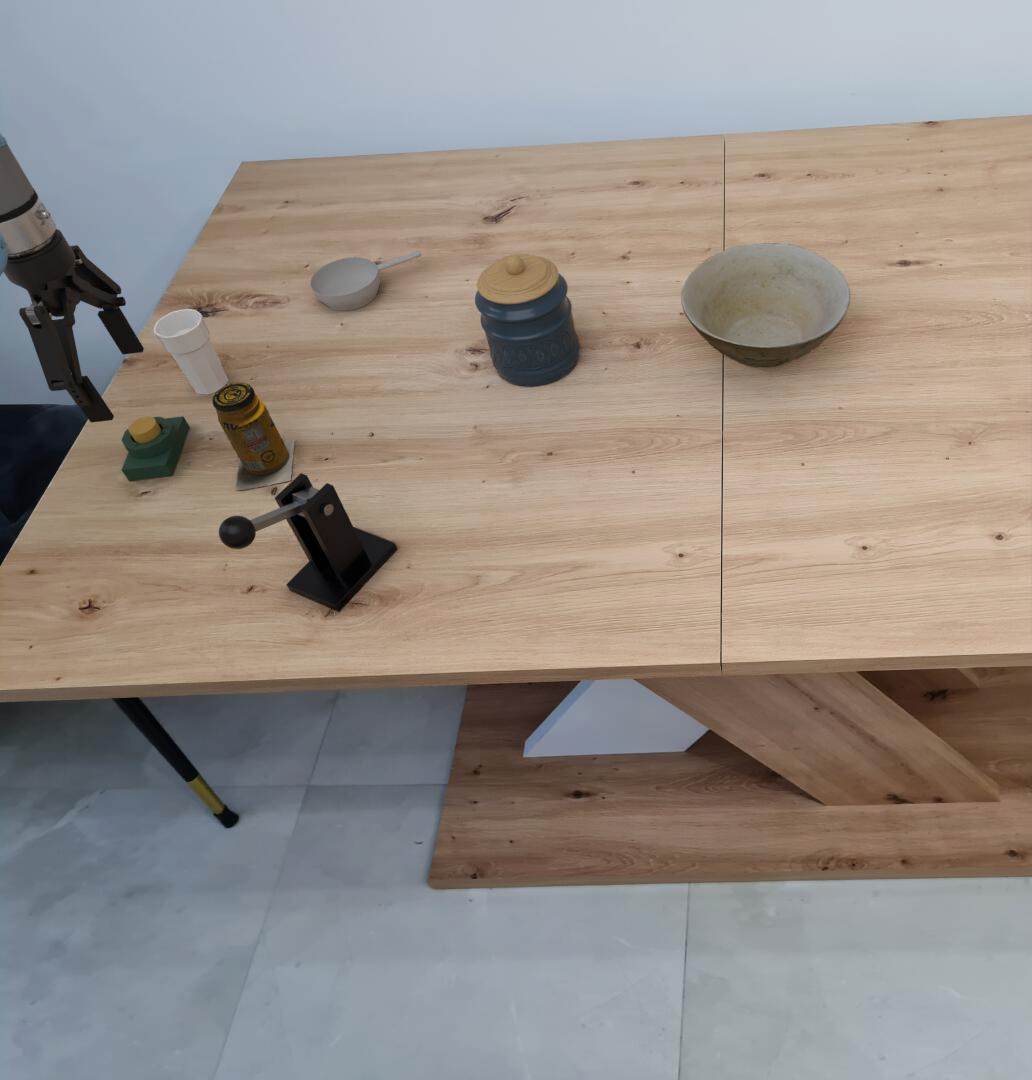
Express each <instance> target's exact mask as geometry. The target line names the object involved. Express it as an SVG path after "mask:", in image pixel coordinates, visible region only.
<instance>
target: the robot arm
mask: <svg viewBox="0 0 1032 1080" xmlns="http://www.w3.org/2000/svg"><path fill="white" fill-rule="evenodd" d="M3 274H4V275H5V276H6V278H7V279H8V281H9V282H10V283H11V284H13V285H15V286H18V287H21V288H22V289H24V290H26V291H27V293H28V295H29V299H30V301H31V303H30V305H29V306H28V307H19V309H18V313H19V316H20V318H21V320H22V321H23V323H24V325H25V326H26V328H27V329H28V332H29V335H30V338H31V341H32V344H33V347H34V349H35V352H36V356H37V358H38V362H39V364H40V367H41V370H42V373H43V375H44V378H45V382H46V385H47V387H48V389H49V391H50V392H57V391H66V392H67V393H68V394H69V396H70V397H71V399H72V400H73V401H74V403H75V404H76V405H77V407H79V408H80V410H81V411H82V412H83V414H84V415H85V417H86V418H87V419H88V421H89V422H90V423H101V422H107V421H113V420H114V418H115V415H114V413H113V412H112V410H111V409H110V407H109V406H108V404H107V403H106V401H105V400H104V399H103V397H102V396H101V394H100V393H99V391H98V390H97V388H96V387H95V385H94V383H93V382H92V381H91V379H90V377H88V375H82V370H81V365H80V360H79V355H78V349H77V345H76V340H75V339H76V338H75V335H74V334H75V333H74V330H73V327H74V326H75V324H76V318H75V312H76V308H77V306H78V305H79V304H80V303H81V302H83V303H85V304H86V305H90V306H91V307H95V308H97V309H102V310H99V311H98V312H97V317H98V318H99V319H100V322H101V323H102V325H103V326H104V327H105V329H106V331H107V332H108V334H109V335H110V337H111V339H112V341H113V342H114V343H115V345H116V346H117V348H118V350H119V351H120V354H121V355H131V354H139V353H143V352H144V350H145V347H144V346H143V344H142V342H141V341H140V339H139V337H138V336H137V334H136V332H135V331H134V330H133V327H132V326H131V324H130V322H129V321H128V319H127V317H126V316H125V314H124V313H123V311H122V308H121V307H125V306H126V304H127V302H126V299H125V297H124V296H119V295H121V294H122V288H121V286H120V285H119V284H118V283H117V282H116V281H115V280H113V279H112V278H111V277H110V276H109V275H108V274H107V273H105V272H104V271H103V270H102V269H101V268H99V267H98V265H96V264H95V263H94V262H93V261H92V260H90V259H89V258H88V257H87V256H86V254H85V253H84V251H83V250H82V249H81V247H80V246H79V245H78V244H77V245H70V243H68V241H67V239H66V237H65V235H64V234H63V232H62V231H61V230H60V229H58V228H57V224H56V222H55V220H54V219H53V217H52V214H51V212H50V210H48V209H47V208H46V206H45V204H44V203H43V201H42V199H41V198H40V197H39V195H38V193H37V192H36V189H35V188H34V187H33V185H32V183H31V182H30V180H29V179H28V176H27V175H26V173H25V171H24V169H23V168H22V167H21V165H20V163H19V160H18V159H17V157H16V156H15V155H14V153H13V151H12V149H11V148H10V146H9V143H8V141H7V139H6V138H5V136H3V134H2V133H1V132H0V277H1V276H2V275H3ZM53 317H55V318H56V319H52V318H53ZM60 317H61V318H60ZM62 317H63V318H62Z"/></svg>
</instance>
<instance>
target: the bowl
mask: <svg viewBox="0 0 1032 1080" xmlns="http://www.w3.org/2000/svg"><path fill="white" fill-rule="evenodd" d="M680 301H681V307H682V310H683V313H684V315H685V316H686V318H687V320H688V321H689V323H690V324H691V326H692V328H693V329H695V331H696V332H697V333H698V334H699V335H700V336H701V337H702V338H703V339H704V340H705V341H706V342H707V343H708V345H710V346H712V348H713V349H715V350H717V351H718V352H719V353H721V354H722V355H724V356H725V357H727V358H728V359H730V360H732V361H734V362H736V363H738V364H742V365H745V366H747V367H751V368H759V369H761V368H763V369H764V368H775V367H776V368H777V367H780V366H784V365H787V364H789V363H791V362H793V361H795V360H798V359H800V358H803V357H804V356H805V355H807V354H809V353H811V352H812V351H813V350H815V349H817V348H818V347H819V346H820V345H822V344H823V343H824V342H825V341H826V340H827V339H828V338H829V337H830V336H831V335H832V334H833V333H834V331H835V330H836V329H837V328H838V327H839V326H840V324H841V323H842V321H844V318H845V317H846V315H847V313H848V311H849V308H850V304H851V289H850V286H849V283H848V281H847V279H846V277H845V276H844V274H843V273H842V272H841V270H840V269H839V268H838V267H836V265H834V264H833V263H831V261H829V260H828V259H827V258H825V257H823V256H822V255H820V254H818V253H816V252H815V251H812V250H810V249H808V248H805V247H803V246H800V245H796V244H791V243H781V242H774V243H770V242H766V243H765V242H764V243H763V242H762V243H753V244H745V245H739V246H734V247H731V248H727V249H725V250H722V251H721V252H718V253H716V254H714V255H712V256H710V257H708V258H707V259H705V260H703V261H702V262H701V263H700V264H698V266H696V267H695V268H694V269H693V270H692V271H691V272H690V274H689V275H688V277H687V278H686V280H685V281H684V283H683V286H682V288H681V292H680Z"/></svg>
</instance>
